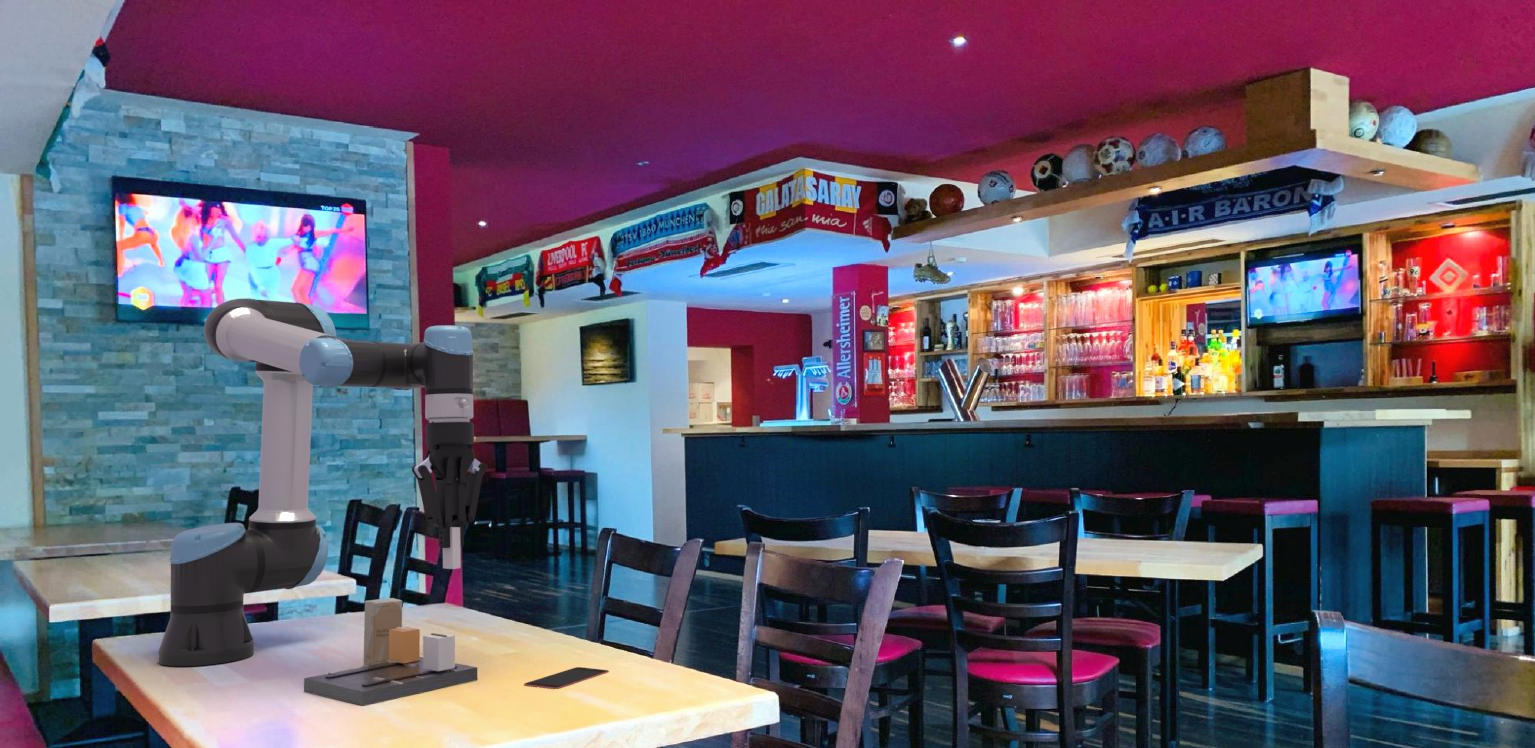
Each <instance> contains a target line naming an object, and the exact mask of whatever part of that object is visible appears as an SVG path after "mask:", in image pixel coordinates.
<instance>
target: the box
mask: <svg viewBox="0 0 1535 748" xmlns="http://www.w3.org/2000/svg"><path fill="white" fill-rule="evenodd" d="M363 623H364V625H363V626H364V633H363V635H364V636H363V666H364V665H365V666H370V665H375V664H381V663H386V662H388V660H389V630H390V629H396V628H397V627H403V600H401V599H400V598H399V599H398V598H395V597H389V598H378V599H371V600H365V601H364V622H363Z"/></svg>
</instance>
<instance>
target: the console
mask: <svg viewBox="0 0 1535 748" xmlns="http://www.w3.org/2000/svg"><path fill="white" fill-rule="evenodd" d="M303 680H304V681H303V688H304V689H303V692H304V693H308V694H309V693H310V694H313V695H317V696H321V697H325V698H330V699H332V700H337V701H340V702H345V703H346V702H347V703H350V704H354V705H357V706H362V707H363V706H369V705H373V704H377V703H382V702H386V701H387V702H388V701H390V700H391V701H392V700H394V699H399V698H404V697H409V696H413V695H417V694H423V693H425V692H426V693H427V692H432V691H436V690H439V689H444V688H449V687H453V686H458V685H461V684H465V683H471V682H475V681H478V667H477V666H473V665H467V664H463V663H456V662H455V668H452V669H447V670H442V671H434V670H429V669H424V668H423V656H420V660H419V661H414V662H409V663H398V662H393V661H389V660H388V662H386V663H381V664H375V665H370V666H365V665H364V664H363V665H362V666H361V667H356V668H350V669H345V670H340V671H335V672H331V671H329V672H327V673H325V674H320V675H315V676H309V677H304V678H303Z"/></svg>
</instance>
